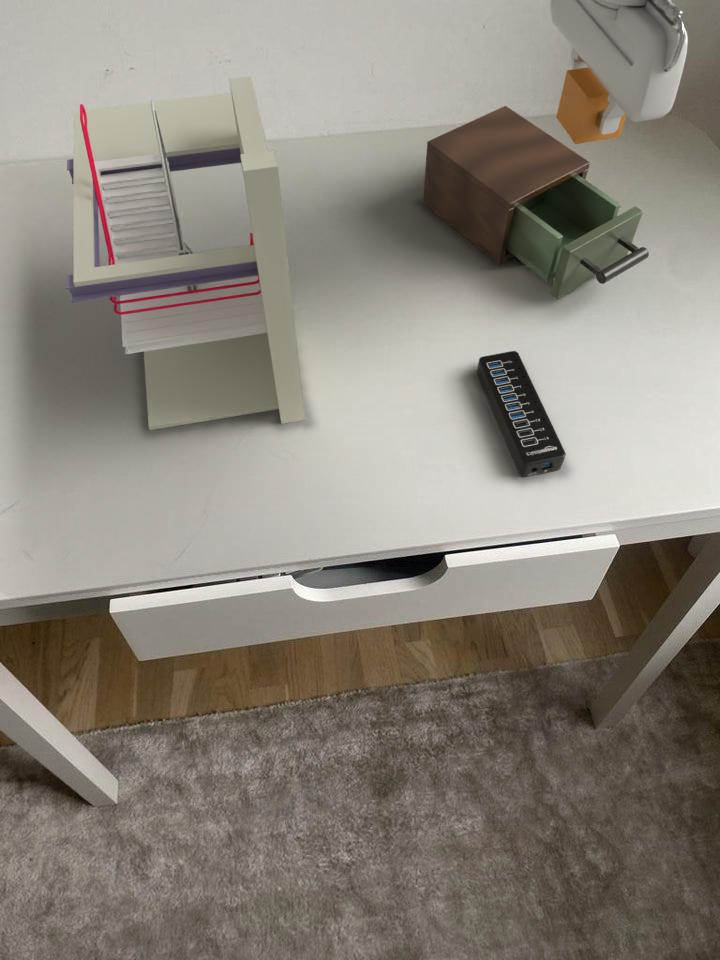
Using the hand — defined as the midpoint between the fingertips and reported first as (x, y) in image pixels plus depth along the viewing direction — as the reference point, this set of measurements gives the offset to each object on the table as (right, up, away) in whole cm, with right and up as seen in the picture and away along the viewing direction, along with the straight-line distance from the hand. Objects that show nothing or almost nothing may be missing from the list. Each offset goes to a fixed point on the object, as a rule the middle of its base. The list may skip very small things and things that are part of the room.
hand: (592, 112), depth 78 cm
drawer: (+1, -11, +14) cm, 18 cm away
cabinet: (-6, -3, +20) cm, 22 cm away
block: (0, -1, +1) cm, 2 cm away
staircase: (-41, -22, +9) cm, 47 cm away
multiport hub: (-7, -31, +2) cm, 32 cm away
